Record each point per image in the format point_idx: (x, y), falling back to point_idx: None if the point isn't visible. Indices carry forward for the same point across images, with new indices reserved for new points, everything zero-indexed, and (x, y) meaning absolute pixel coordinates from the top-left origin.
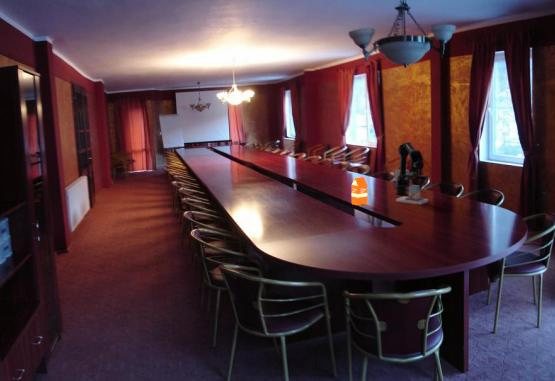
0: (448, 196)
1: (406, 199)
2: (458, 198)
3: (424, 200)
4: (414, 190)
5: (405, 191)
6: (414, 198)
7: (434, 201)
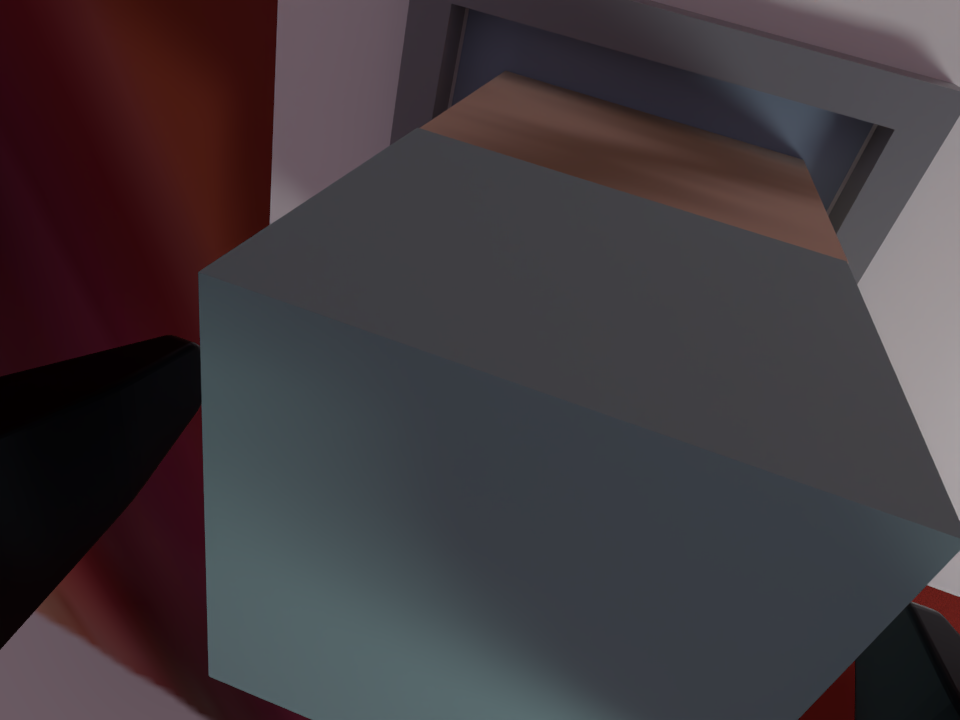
0: (204, 704)
1: (903, 71)
2: (44, 603)
3: (274, 141)
4: (474, 214)
5: None
6: (560, 103)
7: None
